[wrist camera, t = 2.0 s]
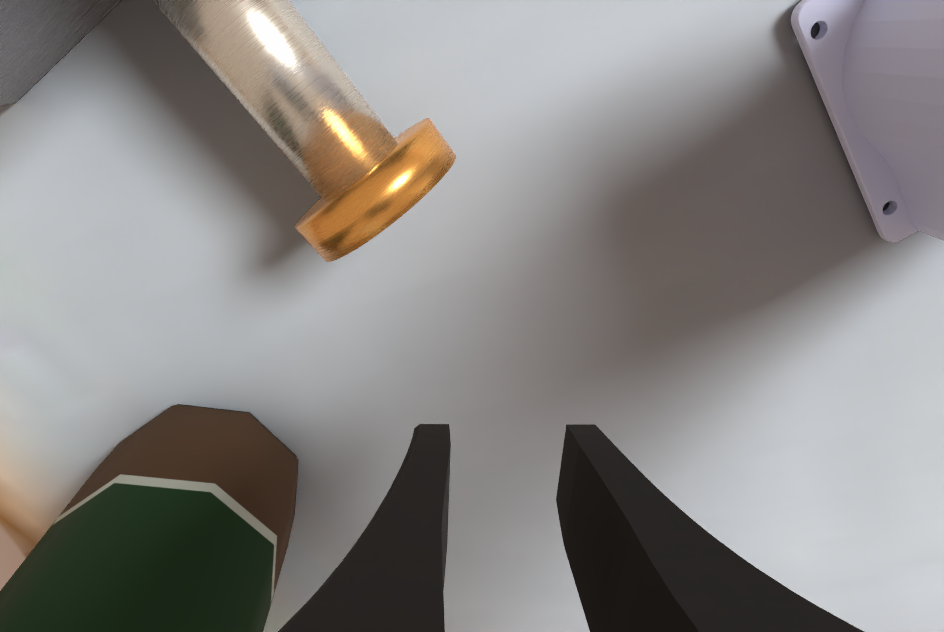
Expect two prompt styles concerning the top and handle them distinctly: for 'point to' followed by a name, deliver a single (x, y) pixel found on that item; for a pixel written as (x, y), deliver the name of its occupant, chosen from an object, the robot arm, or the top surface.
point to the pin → (314, 118)
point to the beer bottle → (166, 534)
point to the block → (41, 38)
